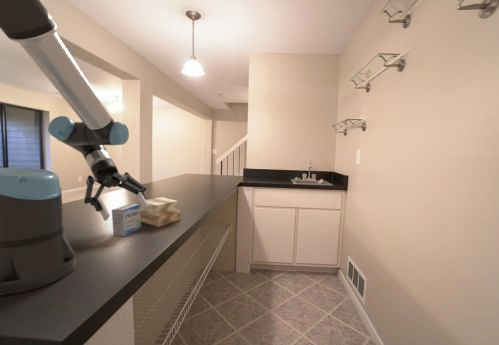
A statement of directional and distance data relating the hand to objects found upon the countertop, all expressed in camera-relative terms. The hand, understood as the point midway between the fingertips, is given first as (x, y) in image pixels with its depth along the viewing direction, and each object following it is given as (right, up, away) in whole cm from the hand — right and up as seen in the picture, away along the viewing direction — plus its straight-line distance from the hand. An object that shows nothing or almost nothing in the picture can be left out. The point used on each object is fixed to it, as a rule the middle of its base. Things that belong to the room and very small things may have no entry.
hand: (128, 212), depth 77 cm
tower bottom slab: (+6, -5, +13) cm, 15 cm away
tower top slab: (+6, -1, +12) cm, 13 cm away
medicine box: (0, -7, 0) cm, 7 cm away
